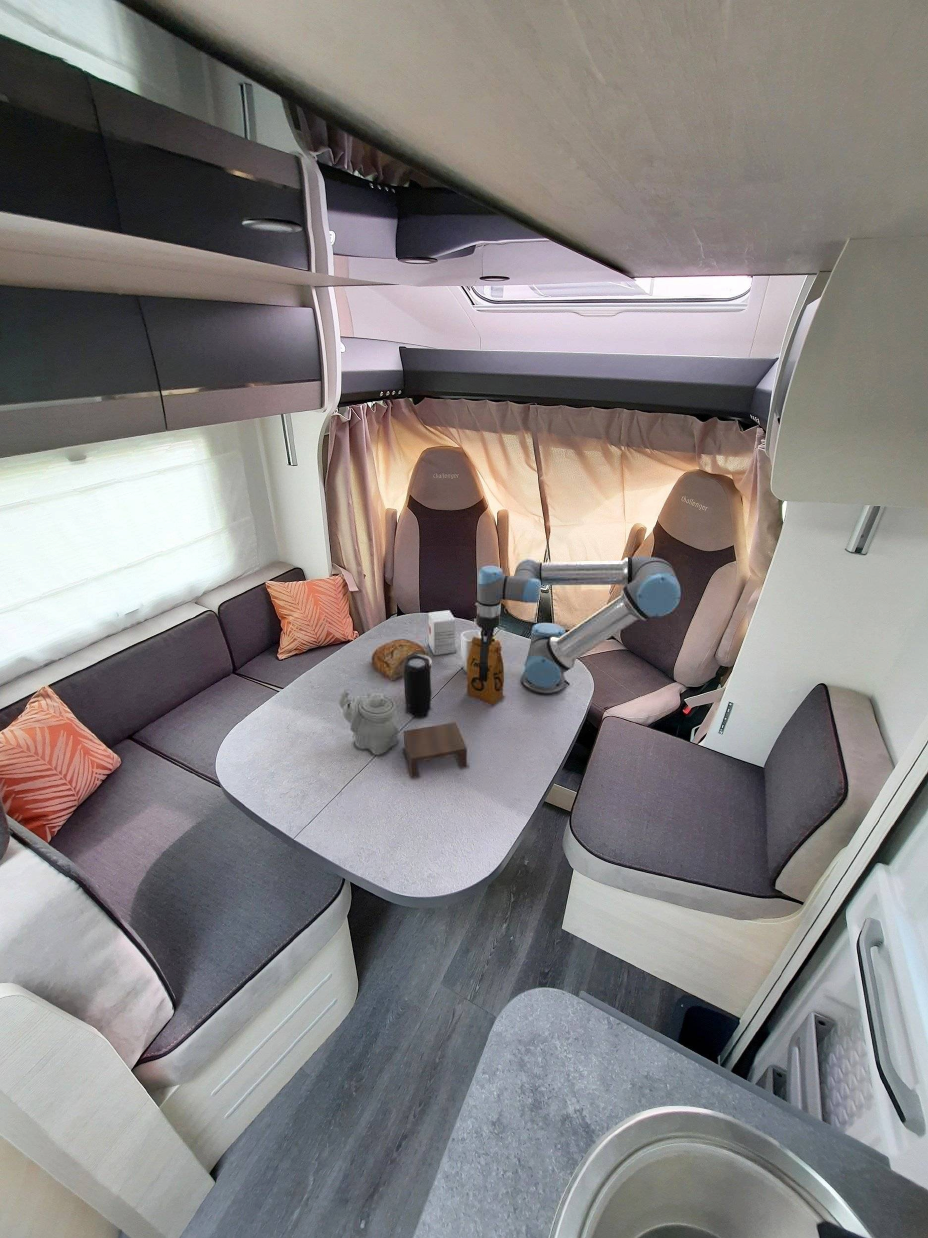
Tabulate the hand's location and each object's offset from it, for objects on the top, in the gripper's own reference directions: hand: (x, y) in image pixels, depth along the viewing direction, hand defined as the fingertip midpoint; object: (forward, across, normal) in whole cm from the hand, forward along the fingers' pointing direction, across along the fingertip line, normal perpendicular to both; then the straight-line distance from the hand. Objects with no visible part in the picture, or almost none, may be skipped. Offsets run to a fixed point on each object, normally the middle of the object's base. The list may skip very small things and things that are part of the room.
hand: (485, 669), depth 173 cm
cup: (+11, -16, -7) cm, 21 cm away
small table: (+11, +33, -11) cm, 36 cm away
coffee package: (+11, 0, 0) cm, 11 cm away
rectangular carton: (+11, -29, -21) cm, 37 cm away
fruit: (+11, -30, -1) cm, 32 cm away
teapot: (+12, +29, -32) cm, 44 cm away
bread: (+12, -15, -35) cm, 40 cm away
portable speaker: (+11, +12, -21) cm, 27 cm away
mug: (+11, +1, -23) cm, 25 cm away
